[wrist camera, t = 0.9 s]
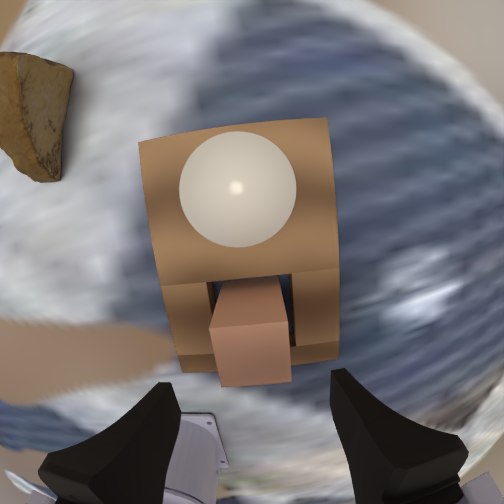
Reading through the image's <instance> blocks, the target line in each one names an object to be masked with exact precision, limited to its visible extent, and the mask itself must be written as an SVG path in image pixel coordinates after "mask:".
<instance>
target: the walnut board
mask: <svg viewBox="0 0 504 504" xmlns="http://www.w3.org/2000/svg"><path fill="white" fill-rule="evenodd" d="M236 131H240V132H249V133H254V134H257V135H260V136H262V137H264V138H266V139H268V140H269V141H271V142H272V143H274V144H275V145H276V146H277V147H278V148H279V149H280V150H281V151H282V152H283V153H284V154H285V156H286V157H287V159H288V160H289V162H290V164H291V166H292V168H293V171H294V175H295V180H296V199H295V204H294V207H293V210H292V213H291V215H290V216H289V218H288V220H287V222H286V223H285V224H284V226H283V227H282V228H281V229H280V230H279V231H278V232H277V233H276V234H274V235H273V236H272V237H270V238H269V239H267V240H266V241H263V242H261V243H259V244H256V245H253V246H248V247H237V248H236V247H227V246H223V245H219V244H216V243H214V242H212V241H210V240H208V239H206V238H205V237H203V236H202V235H201V234H200V233H199V232H197V231H196V230H195V229H194V227H193V226H192V225H191V224H190V222H189V221H188V219H187V218H186V216H185V214H184V211H183V209H182V206H181V201H180V195H179V184H180V178H181V174H182V171H183V168H184V166H185V164H186V162H187V160H188V158H189V157H190V155H191V154H192V153H193V152H194V151H195V149H196V148H197V147H199V146H200V145H201V144H202V143H204V142H205V141H207V140H208V139H210V138H212V137H214V136H216V135H219V134H222V133H227V132H236ZM138 144H139V154H140V164H141V172H142V180H143V188H144V195H145V202H146V209H147V216H148V222H149V228H150V234H151V239H152V245H153V251H154V256H155V261H156V266H157V271H158V276H159V281H160V285H161V290H162V294H163V299H164V303H165V308H166V312H167V316H168V320H169V324H170V328H171V332H172V336H173V340H174V343H175V347H176V351H177V354H178V358H179V362H180V365H181V369H182V372H183V373H193V372H218V369H217V365H216V360H215V355H214V350H213V346H212V341H211V336H210V331H209V326H210V323H211V320H212V316H213V313H214V310H215V306H216V303H215V298H214V292H213V286H212V282H213V281H224V280H234V279H244V278H254V277H263V276H273V275H282V274H289V279H290V292H291V306H292V321H293V333H289V345H290V360H291V366H292V365H300V364H307V363H315V362H321V361H328V360H334V359H339V332H340V277H339V246H338V226H337V210H336V196H335V184H334V174H333V163H332V154H331V145H330V137H329V129H328V122H327V118H310V119H292V120H278V121H267V122H257V123H247V124H239V125H231V126H223V127H216V128H210V129H203V130H197V131H191V132H186V133H180V134H175V135H170V136H165V137H160V138H155V139H151V140H146V141H142V142H138Z"/></svg>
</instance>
